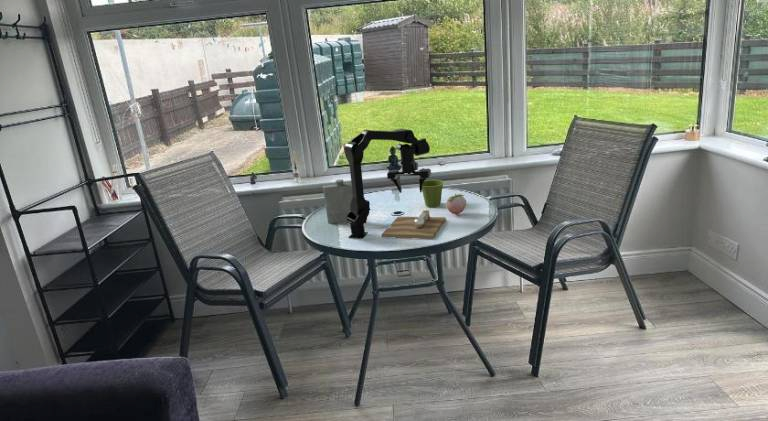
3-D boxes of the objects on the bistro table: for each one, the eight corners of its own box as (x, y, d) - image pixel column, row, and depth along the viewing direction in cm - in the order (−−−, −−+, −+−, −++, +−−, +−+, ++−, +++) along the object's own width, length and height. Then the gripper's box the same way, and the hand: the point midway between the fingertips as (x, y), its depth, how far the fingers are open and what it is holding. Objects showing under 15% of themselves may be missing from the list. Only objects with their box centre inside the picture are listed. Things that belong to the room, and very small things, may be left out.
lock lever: (423, 228, 211) (422, 221, 210) (413, 227, 213) (413, 221, 212) (431, 216, 224) (431, 210, 223) (422, 216, 225) (422, 210, 224)
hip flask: (327, 223, 236) (321, 182, 229) (329, 220, 239) (323, 179, 233) (360, 222, 232) (355, 180, 226) (362, 219, 236) (357, 178, 230)
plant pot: (419, 209, 241) (417, 186, 238) (423, 202, 252) (421, 180, 249) (443, 209, 238) (442, 186, 235) (447, 201, 249) (445, 179, 246)
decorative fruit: (455, 210, 235) (454, 189, 232) (469, 213, 229) (468, 192, 226) (442, 216, 229) (441, 195, 226) (456, 219, 223) (455, 197, 220)
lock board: (433, 239, 203) (432, 235, 203) (381, 237, 211) (381, 233, 211) (445, 220, 223) (445, 217, 222) (398, 219, 231) (397, 216, 230)
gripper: (432, 153, 224) (435, 186, 229) (392, 154, 230) (395, 187, 235) (426, 158, 215) (429, 194, 219) (385, 160, 220) (388, 194, 225)
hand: (410, 192), depth 225 cm, fingers open, 9 cm apart
